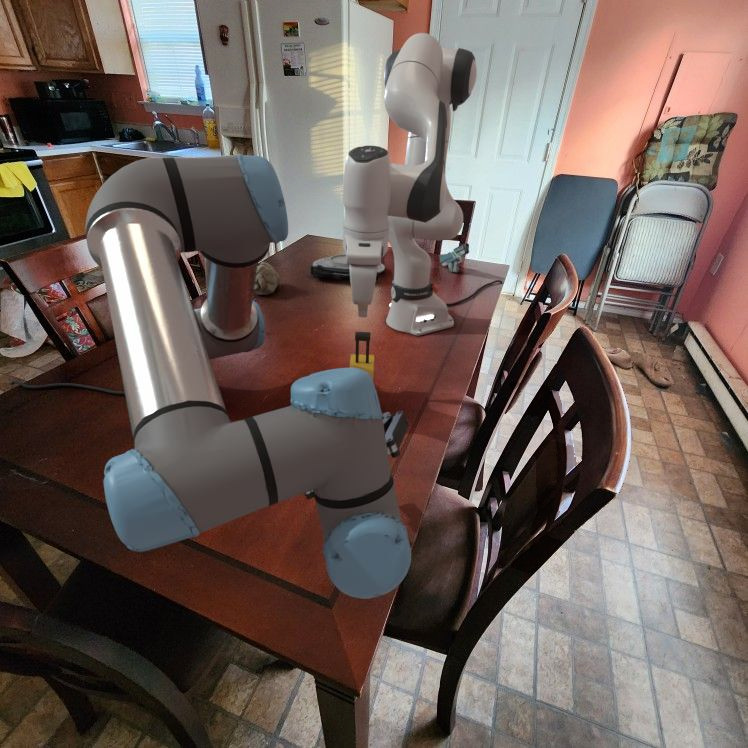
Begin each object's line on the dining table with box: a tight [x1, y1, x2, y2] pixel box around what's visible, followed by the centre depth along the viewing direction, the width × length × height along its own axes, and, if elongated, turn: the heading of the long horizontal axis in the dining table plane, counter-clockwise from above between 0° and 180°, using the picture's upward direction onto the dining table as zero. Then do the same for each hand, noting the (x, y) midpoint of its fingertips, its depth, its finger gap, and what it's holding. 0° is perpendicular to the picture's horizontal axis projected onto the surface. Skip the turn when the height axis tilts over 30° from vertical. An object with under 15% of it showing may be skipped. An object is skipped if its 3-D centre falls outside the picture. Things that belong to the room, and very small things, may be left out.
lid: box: [348, 330, 376, 380], centre depth 91 cm, size 16×6×9 cm, turn 178°
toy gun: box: [439, 243, 470, 273], centre depth 173 cm, size 4×19×10 cm
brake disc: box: [310, 254, 386, 282], centre depth 171 cm, size 32×30×5 cm
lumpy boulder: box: [254, 261, 281, 296], centre depth 151 cm, size 11×11×15 cm
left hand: (342, 430), depth 70 cm, fingers open, 13 cm apart
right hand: (364, 305), depth 89 cm, fingers open, 8 cm apart
